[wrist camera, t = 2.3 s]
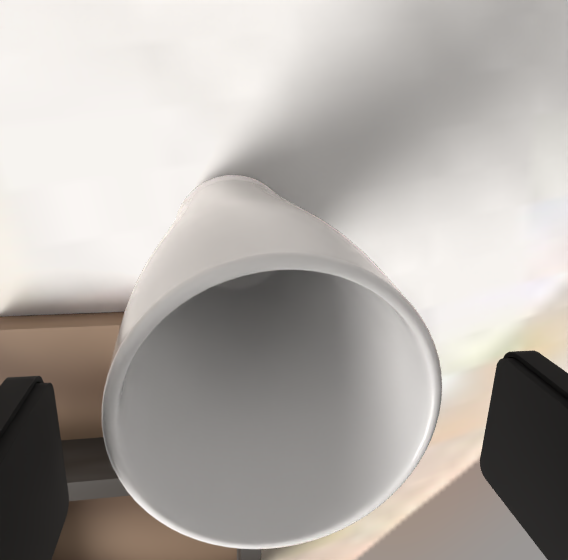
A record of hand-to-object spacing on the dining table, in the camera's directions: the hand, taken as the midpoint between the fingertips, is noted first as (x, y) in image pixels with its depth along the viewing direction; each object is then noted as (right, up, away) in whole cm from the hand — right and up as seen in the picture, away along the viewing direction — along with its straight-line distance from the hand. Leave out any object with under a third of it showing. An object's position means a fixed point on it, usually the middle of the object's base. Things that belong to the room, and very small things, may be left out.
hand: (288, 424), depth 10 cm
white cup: (-3, +5, +13) cm, 15 cm away
